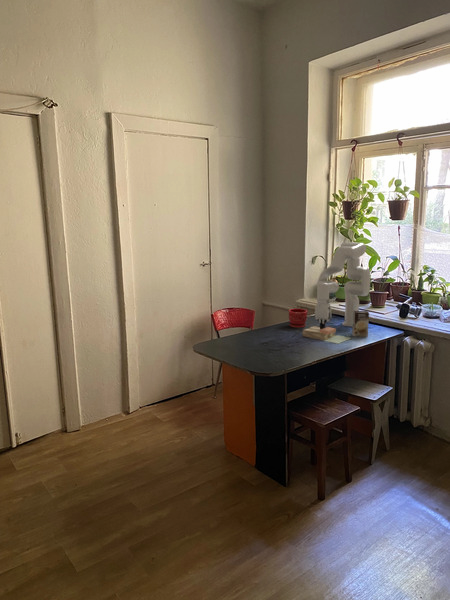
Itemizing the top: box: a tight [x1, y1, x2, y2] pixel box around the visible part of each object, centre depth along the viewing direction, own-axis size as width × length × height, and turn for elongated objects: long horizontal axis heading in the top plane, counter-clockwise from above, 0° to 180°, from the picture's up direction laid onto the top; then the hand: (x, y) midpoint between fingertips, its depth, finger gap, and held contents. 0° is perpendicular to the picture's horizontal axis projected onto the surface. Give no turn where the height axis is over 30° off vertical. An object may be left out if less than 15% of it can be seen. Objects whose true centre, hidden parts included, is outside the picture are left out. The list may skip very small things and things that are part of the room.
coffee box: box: [351, 310, 370, 338], centre depth 290 cm, size 9×6×16 cm
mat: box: [322, 334, 352, 345], centre depth 284 cm, size 16×11×1 cm, turn 136°
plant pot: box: [288, 308, 308, 329], centre depth 317 cm, size 13×13×12 cm
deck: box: [302, 325, 336, 341], centre depth 293 cm, size 14×16×4 cm
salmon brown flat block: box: [320, 326, 337, 334], centre depth 287 cm, size 9×6×2 cm, turn 133°
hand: (322, 328), depth 290 cm, fingers closed
